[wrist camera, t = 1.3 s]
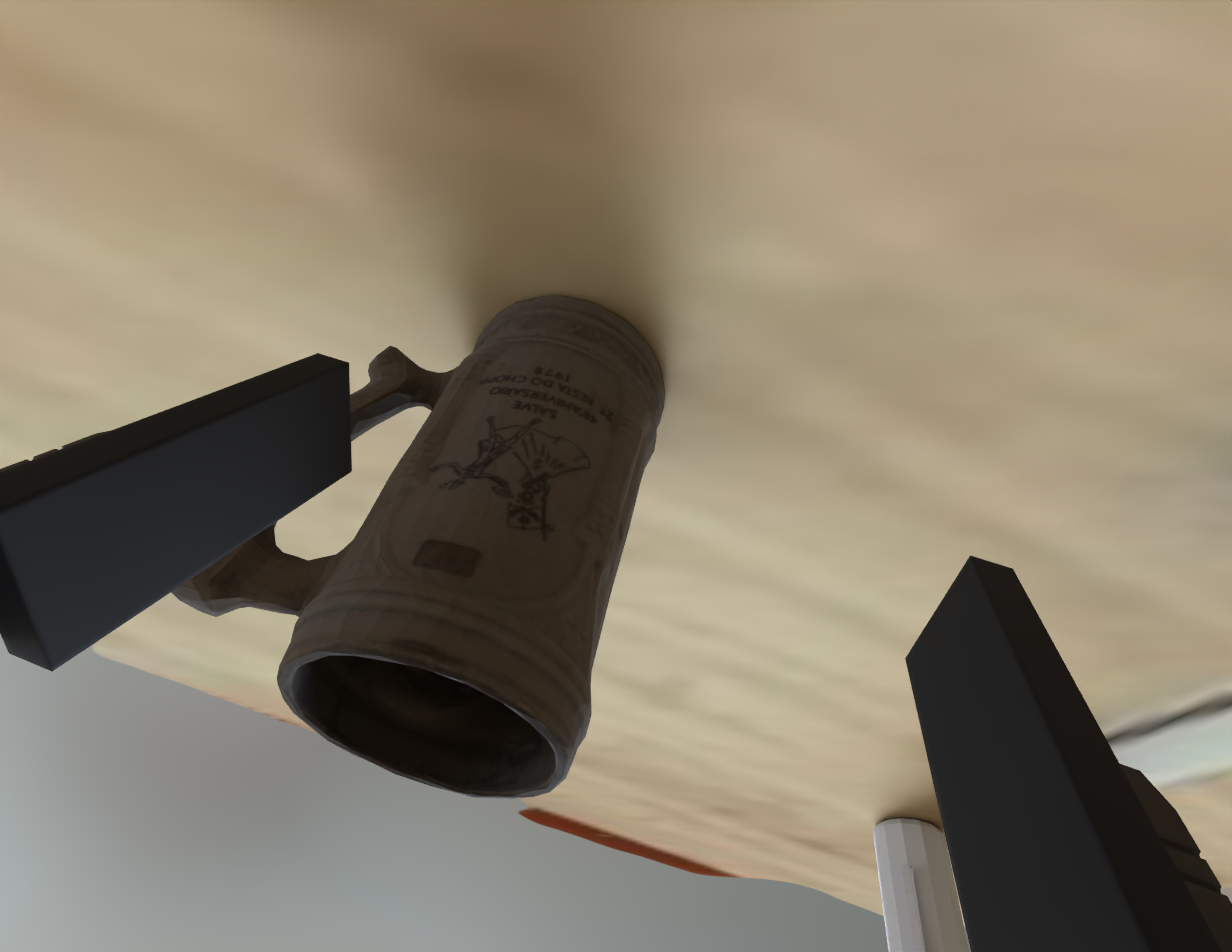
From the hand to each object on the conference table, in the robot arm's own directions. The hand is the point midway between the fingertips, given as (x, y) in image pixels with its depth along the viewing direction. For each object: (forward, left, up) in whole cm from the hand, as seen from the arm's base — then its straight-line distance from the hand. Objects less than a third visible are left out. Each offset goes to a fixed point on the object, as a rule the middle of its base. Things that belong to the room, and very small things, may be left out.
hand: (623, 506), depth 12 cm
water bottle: (+55, +41, -18) cm, 71 cm away
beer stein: (+11, -6, -18) cm, 22 cm away
